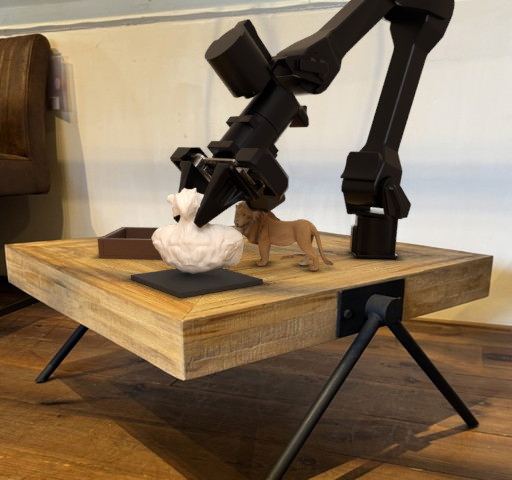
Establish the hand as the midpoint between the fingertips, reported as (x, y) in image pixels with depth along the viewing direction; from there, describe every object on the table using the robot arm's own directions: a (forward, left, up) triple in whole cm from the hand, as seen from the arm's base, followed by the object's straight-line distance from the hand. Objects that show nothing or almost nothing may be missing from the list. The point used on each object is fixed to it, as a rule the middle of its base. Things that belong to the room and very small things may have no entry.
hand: (186, 223), depth 69 cm
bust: (-1, -1, -6) cm, 7 cm away
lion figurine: (-11, -12, -8) cm, 18 cm away
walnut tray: (+7, -22, -7) cm, 24 cm away
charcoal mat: (-1, -1, -7) cm, 7 cm away
